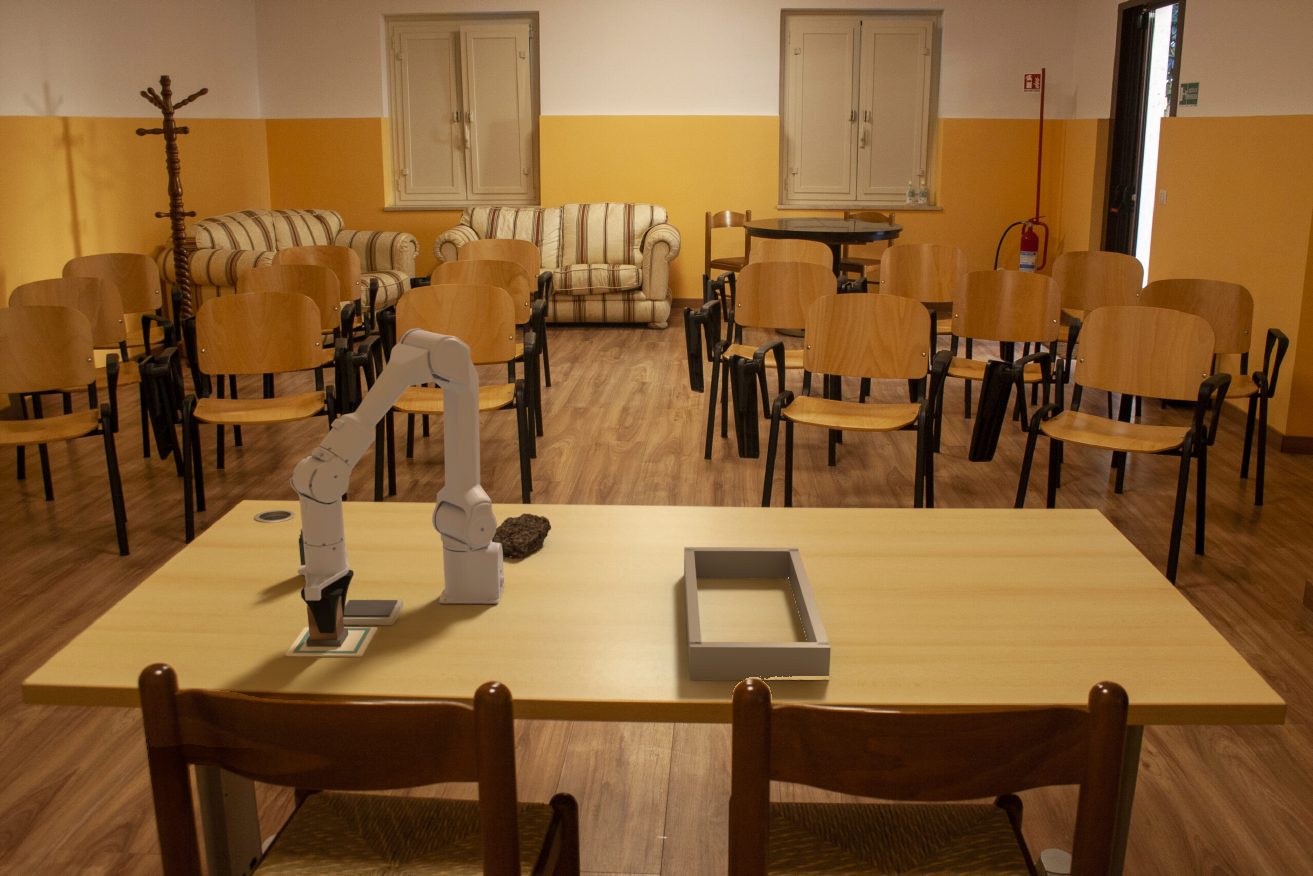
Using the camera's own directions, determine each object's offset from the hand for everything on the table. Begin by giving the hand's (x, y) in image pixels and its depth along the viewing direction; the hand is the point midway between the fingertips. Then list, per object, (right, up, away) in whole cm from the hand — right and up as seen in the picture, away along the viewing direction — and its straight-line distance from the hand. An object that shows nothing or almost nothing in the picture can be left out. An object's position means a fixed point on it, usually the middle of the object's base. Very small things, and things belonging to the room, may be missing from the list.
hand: (331, 626), depth 162 cm
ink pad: (+3, 0, +10) cm, 10 cm away
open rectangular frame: (+62, -1, +8) cm, 63 cm away
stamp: (-1, -2, +1) cm, 2 cm away
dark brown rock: (+23, +8, +38) cm, 45 cm away
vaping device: (-10, +4, +25) cm, 28 cm away
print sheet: (0, -3, +1) cm, 3 cm away
